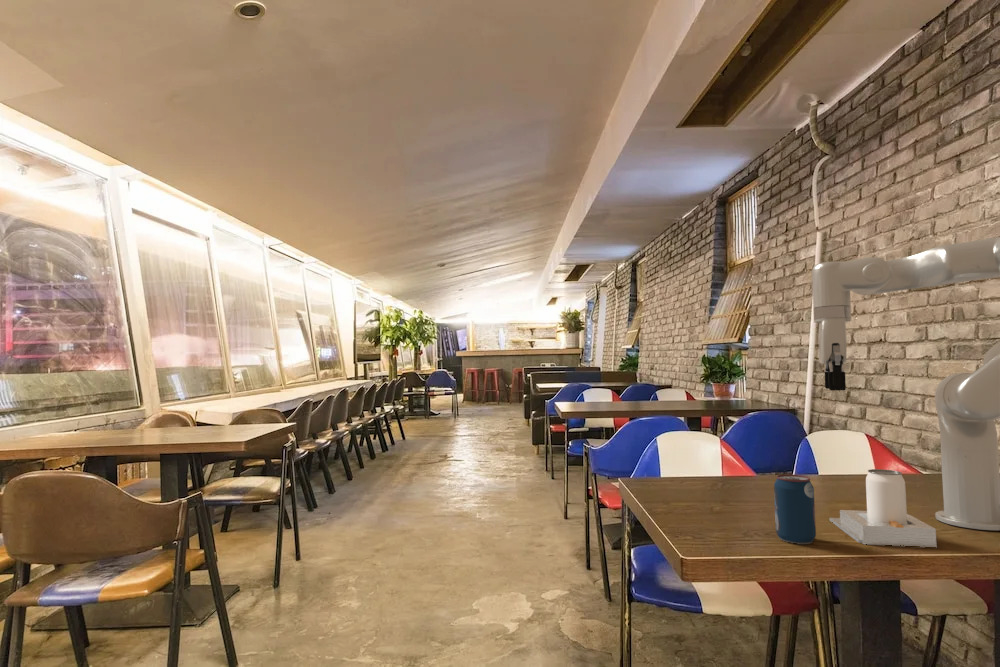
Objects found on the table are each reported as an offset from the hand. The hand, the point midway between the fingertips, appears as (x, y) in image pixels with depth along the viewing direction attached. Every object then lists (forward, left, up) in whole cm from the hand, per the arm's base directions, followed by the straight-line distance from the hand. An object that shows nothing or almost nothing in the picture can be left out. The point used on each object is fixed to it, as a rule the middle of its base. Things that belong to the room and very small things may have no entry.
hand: (835, 389), depth 132 cm
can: (-2, +18, -28) cm, 33 cm away
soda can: (+16, +24, -28) cm, 40 cm away
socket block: (-2, +16, -28) cm, 32 cm away
